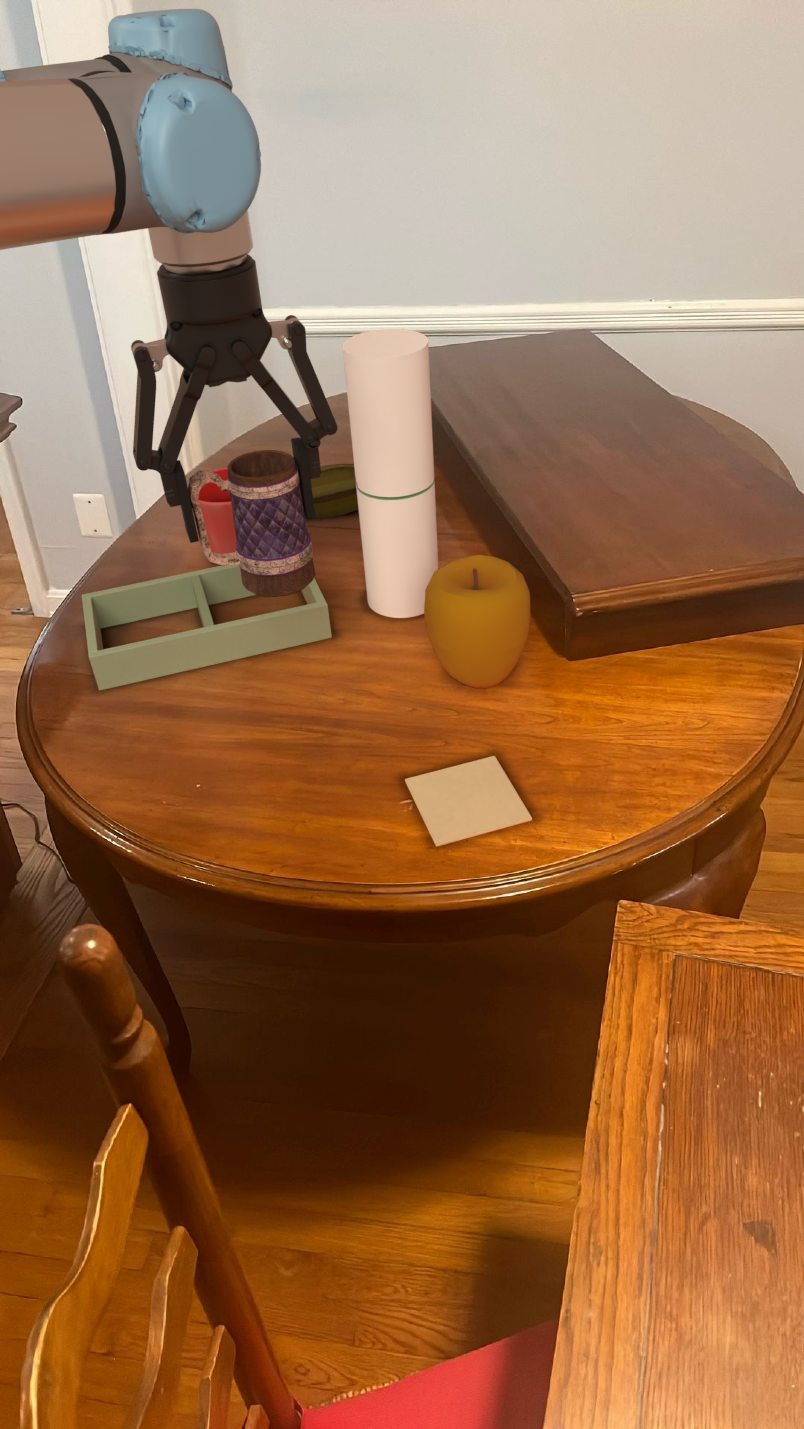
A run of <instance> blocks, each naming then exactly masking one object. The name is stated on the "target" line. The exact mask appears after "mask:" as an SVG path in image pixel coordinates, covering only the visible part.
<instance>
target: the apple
mask: <svg viewBox="0 0 804 1429" xmlns="http://www.w3.org/2000/svg"><path fill="white" fill-rule="evenodd" d="M423 615H424V616H423V617H424V624H425V627H426V631H427V635H428V638H429V641H430V644H431V647H432V650H433V653H434V654H435V656H436V658H437V660H438V662H439V663H440V665H441V667H442V668H443V669H444V671H445V672H446V673H447V674H448V675H449V677H451V678H453V679H455V680H456V681H457V682H459V683H461V684H463V685H465V686H468V687H471V688H472V689H489V688H492V687H494V686H497V685H500V684H502V682H503V681H505V680H506V679H507V678H508V677H509V676H510V675H511V673H512V671H513V670H514V669H515V667H516V666H517V664H518V663H519V660H520V658H521V656H522V654H523V652H524V650H525V647H526V644H527V641H528V637H529V634H530V626H531V625H530V624H531V593H530V589H529V587H528V585H527V582H526V580H525V576H524V575H523V573H522V572H520V571H519V570H518V569H517V568H516V567H515V566H513V564H511V563H510V562H509V561H508V560H507V561H506V560H504V559H502V558H499V557H496V556H489V555H484V554H483V555H482V554H475V555H470V556H469V555H468V556H466V557H462V558H459V559H456V560H453V561H451V562H449V563H447V564H446V565H444V566H442V567H440V568H438V570H437V571H435V572H434V573H433V575H432V577H431V579H430V581H429V583H428V585H427V587H426V590H425V603H424V614H423Z"/></svg>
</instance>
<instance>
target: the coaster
mask: <svg viewBox="0 0 804 1429" xmlns="http://www.w3.org/2000/svg"><path fill="white" fill-rule="evenodd" d="M404 782H405V784H406V786H407V788H408V791H409V793H410V795H411V797H412V799H413V801H414V803H415V805H416V808H417V810H418V812H419V814H420V817H421V818H422V820H423V822H424V824H425V826H426V828H427V830H428V833H429V835H430V837H431V839H432V842H433V843H434V845H435V847H436V848H437V847H441V846H444V845H447V844H451V843H454V842H459V841H461V840H465V839H466V840H467V839H469V838H473V837H476V836H479V835H480V836H481V835H484V834H487V833H491V832H494V831H495V832H496V831H498V830H502V829H504V828H505V829H506V828H509V827H513V826H516V825H519V824H520V825H521V824H523V823H528V822H531V821H533V817H532V815H531V814H530V811H528V808H527V807H526V805H525V804H524V802H523V800H522V799H521V797H520V795H519V794H518V792H517V790H516V788H515V787H514V785H513V784H512V782H511V780H510V779H509V777H508V775H507V773H506V772H505V770H504V769H503V767H502V766H501V764H500V762H499V761H498V759H497V757H496V755H491V756H487V757H484V758H480V759H476V760H473V761H469V762H464V763H462V764H457V765H452V766H449V767H446V768H442V769H438V770H434V771H430V772H426V773H422V774H419V775H415V776H411V777H407V778H405V779H404Z"/></svg>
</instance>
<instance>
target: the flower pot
mask: <svg viewBox="0 0 804 1429" xmlns="http://www.w3.org/2000/svg"><path fill="white" fill-rule="evenodd" d="M211 471H212V472H214V473H217V474H218V475H219V476H220V478H221V479H222V480H223V481H228V480H227V473H228V469H227V467H222V468H218V469H214V470H211ZM188 486H189V484H187V487H188ZM198 502H199V505H200V508H201V511H202V514H203V518H204V523H205V527H206V532H207V536H208V541H209V545H210V548H211V550H212V552H215V553H218V554H225V553H235V552H236V546H235V544H236V542H237V541H236V534H235V526H234V519H233V512H232V504H231V497H230V492H229V491H222V490H221V489H220V488H219V486H218V485H217V484H215V483H213V482H209V483H206V484H205V485H204V486H203V487H202V488H201V489H200V492H199V497H198Z"/></svg>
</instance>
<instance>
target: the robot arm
mask: <svg viewBox="0 0 804 1429" xmlns="http://www.w3.org/2000/svg"><path fill="white" fill-rule="evenodd" d="M107 33H108V44H109V45H108V46H107V48H108V53H107V54H103V55H102V56H99V57H95V58H93V59H85V60H77V61H68V62H60V63H51V64H44V65H36V66H28V67H20V68H13V69H6V70H5V69H4V70H0V251H1V250H9V249H15V248H21V247H27V246H28V247H29V246H35V245H40V244H47V243H53V242H59V241H65V240H67V241H68V240H73V239H80V238H85V237H91V236H101V235H115V234H121V233H126V232H133V231H140V230H146V229H147V230H148V235H149V240H150V246H151V250H152V251H151V252H152V255H153V258H154V260H156V261H157V262H158V263H159V264H160V265H159V267H158V270H157V272H156V276H157V280H158V284H159V290H160V295H161V296H160V297H161V300H162V305H163V310H164V315H165V320H166V331H165V333H164V337H163V338H162V339H157V340H153V341H152V340H151V341H149V342H145V341H143V340H142V339H141V340H140V339H136V340H133V342H132V343H131V345H130V349H131V350H130V351H131V353H132V356H133V360H134V363H135V366H136V370H137V374H136V390H135V408H134V409H135V411H134V425H133V442H132V443H133V445H132V455H133V459H134V463H135V466H136V467H137V469H138V470H139V471H142V472H144V471H148V470H151V471H156V472H157V473H158V474H159V475H160V480H161V485H162V489H163V493H164V497H165V500H166V503H167V504H168V505H169V507H170V508H173V507H178V506H180V509H181V513H182V519H183V523H184V528H185V531H186V534H187V537H188V541H189V543H190V544H193V543H197V542H200V539H199V535H198V530H197V526H196V521H195V516H194V513H193V509H192V506H191V501H190V496H189V492H188V487H187V486H188V483H187V478H186V473H185V470H184V467H183V465H182V463H181V460H180V459H179V457H180V454H181V450H182V448H183V445H184V442H185V439H186V437H187V433H188V431H189V428H190V424H191V421H192V418H193V415H194V413H195V411H196V408H197V404H198V402H199V401H200V399H201V397H202V396H203V392H204V389H205V386H208V387H209V388H215V387H219V386H221V385H223V384H227V383H242V382H247V381H248V378H250V377H252V378H253V380H254V381H255V382H256V383H257V385H258V386H259V387H260V389H262V391H263V392H264V393H265V394H266V396H267V397H268V398H269V400H270V401H271V402H272V403H273V405H275V407H276V408H277V409H278V410H279V413H281V415H283V417H284V418H285V419H286V421H287V422H288V423H289V424H290V425H291V427H292V429H293V430H294V431H295V432H296V433H297V435H299V437H293V438H290V441H291V449H292V457H293V458H294V459H295V464H296V465H297V468H298V474H299V479H300V482H299V484H300V490H301V496H302V501H303V507H304V513H305V516H306V517H307V518H306V520H308V519H309V520H310V518H314V517H315V510H314V502H313V494H312V487H311V479H314V478H319V477H320V474H321V467H320V466H321V460H320V450H319V447H320V445H321V440H322V439H323V438H325V437H327V436H333V435H335V434H336V433H337V431H338V424H337V422H336V419H335V417H334V414H333V412H332V410H331V407H330V404H329V402H328V400H327V398H326V395H325V393H324V392H325V391H324V390H323V387H322V385H321V383H320V381H319V378H318V375H317V373H316V371H315V369H314V366H313V363H312V361H311V359H310V357H309V356H310V355H309V354H308V351H307V334H306V333H307V330H306V327H305V325H304V324H303V323H302V322H301V321H300V319H298V317H297V316H296V315H294V314H290V315H287V316H286V317H285V318H284V320H272V321H271V320H269V321H268V319H267V317H266V316H265V314H264V311H263V304H262V297H261V296H262V295H261V290H260V284H259V276H258V271H257V270H258V268H257V263H256V260H255V259H254V258H253V257H252V256H251V255H250V253H251V251H252V250H253V248H254V241H253V234H252V229H251V228H252V227H251V222H250V215H249V209H250V207H251V205H252V203H253V201H254V199H255V198H256V194H257V192H258V188H259V184H260V179H261V175H262V174H261V173H262V161H261V156H262V152H261V148H260V138H259V134H258V131H257V128H256V125H255V123H254V120H253V118H252V116H251V114H250V112H249V111H248V109H247V107H246V106H245V105H244V103H243V102H242V100H241V99H240V98H239V97H238V96H237V95H236V94H235V93H234V92H233V81H232V79H231V76H230V71H229V65H228V61H227V60H228V59H227V55H226V49H225V45H224V42H223V37H222V33H221V29H220V26H219V23H218V21H217V19H216V17H214V16H213V15H212V14H211V13H210V12H209V11H206V10H204V9H200V8H174V9H173V8H172V9H161V10H160V9H159V10H150V11H149V10H148V11H140V12H139V11H138V12H132V13H127V14H120V15H116V16H113V17H112V18H111V19H110V21H109V23H108V26H107ZM272 338H273V339H276V340H277V342H278V344H279V345H280V347H281V348H282V349H283V350H287V353H288V355H289V358H290V360H291V363H292V365H293V367H294V370H295V373H296V374H297V377H298V379H299V382H300V384H301V387H302V389H303V391H304V393H305V395H306V399H307V400H308V403H309V405H310V407H311V410H312V412H313V415H314V417H315V418H314V419H312V420H310V421H308V420H307V419H306V418H305V416H304V415H303V414H302V412H301V411H300V410H299V409H298V407H297V406H296V405H295V403H294V402H293V401H292V400H291V399H290V397H289V396H288V395H287V393H286V392H285V390H284V389H283V387H281V385H280V384H279V383H278V381H276V379H275V378H274V377H273V375H272V374H271V373H270V371H269V370H268V369H267V367H266V366H265V365H264V363H263V362H262V361H261V360H262V357H263V355H264V354H265V352H266V350H267V348H268V346H269V344H270V342H271V340H272ZM167 356H170V357H172V359H173V360H174V361H175V362H177V364H178V365H179V366H180V367H182V368H183V369H182V372H181V374H180V378H179V382H178V383H179V386H178V388H177V391H176V395H175V397H174V400H173V403H172V406H171V409H170V412H169V415H168V418H167V421H166V424H165V427H164V430H163V433H162V436H161V439H160V442H159V445H158V448H157V450H156V449H153V443H154V442H153V441H154V428H155V412H156V411H155V410H156V398H157V376H156V373H158V372H160V371H161V370H162V369H163V366H164V364H163V363H164V362H163V361H164V359H165V357H167Z"/></svg>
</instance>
